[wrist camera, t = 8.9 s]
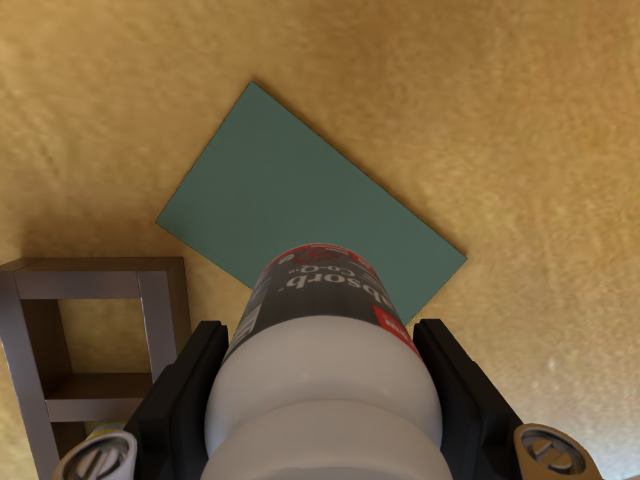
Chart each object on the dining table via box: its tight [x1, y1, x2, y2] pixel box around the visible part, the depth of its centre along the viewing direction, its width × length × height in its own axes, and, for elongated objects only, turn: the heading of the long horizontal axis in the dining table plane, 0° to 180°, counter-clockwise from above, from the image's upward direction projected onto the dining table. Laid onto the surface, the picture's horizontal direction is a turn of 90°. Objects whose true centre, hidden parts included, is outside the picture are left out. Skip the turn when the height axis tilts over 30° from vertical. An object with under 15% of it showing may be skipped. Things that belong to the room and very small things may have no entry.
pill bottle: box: [200, 243, 453, 480], centre depth 10 cm, size 6×6×10 cm
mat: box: [155, 81, 468, 326], centre depth 25 cm, size 20×12×1 cm, turn 52°
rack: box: [0, 257, 192, 480], centre depth 26 cm, size 12×22×3 cm, turn 0°
